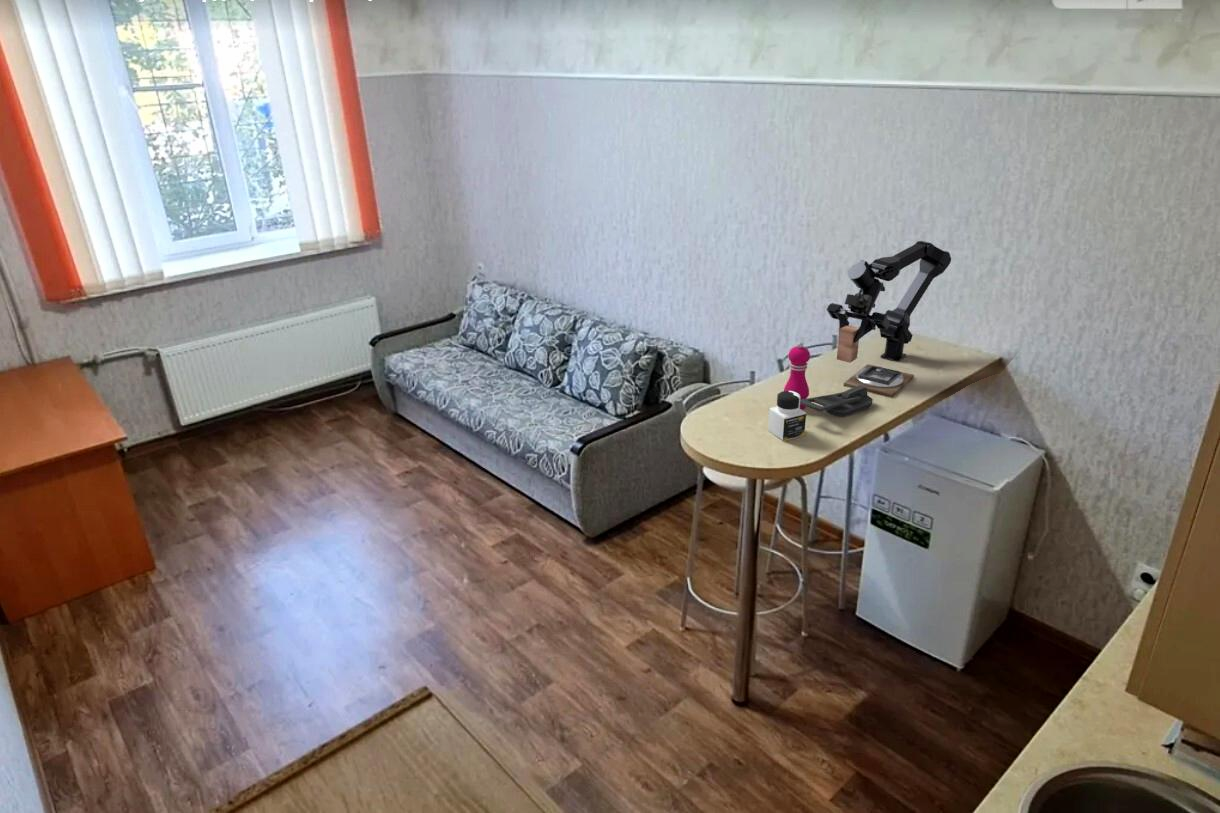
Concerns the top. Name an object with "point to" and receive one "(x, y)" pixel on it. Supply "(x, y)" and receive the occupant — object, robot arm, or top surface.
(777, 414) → the medicine bottle
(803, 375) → the pepper mill
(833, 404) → the zipper pull
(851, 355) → the tan wooden block
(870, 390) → the walnut board
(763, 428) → the top surface
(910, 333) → the robot arm
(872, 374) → the rosette plate
